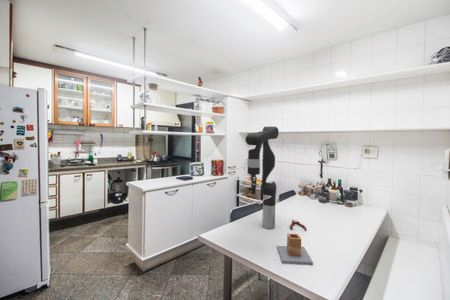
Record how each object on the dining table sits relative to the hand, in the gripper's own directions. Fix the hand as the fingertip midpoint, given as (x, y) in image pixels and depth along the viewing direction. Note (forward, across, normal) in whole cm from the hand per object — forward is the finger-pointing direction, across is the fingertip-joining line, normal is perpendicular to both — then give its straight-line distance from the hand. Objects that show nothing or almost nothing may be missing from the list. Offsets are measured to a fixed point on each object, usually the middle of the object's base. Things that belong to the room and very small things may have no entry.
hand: (253, 192), depth 131 cm
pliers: (+34, +32, -37) cm, 60 cm away
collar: (+32, -11, -23) cm, 41 cm away
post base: (+33, -11, -23) cm, 42 cm away
